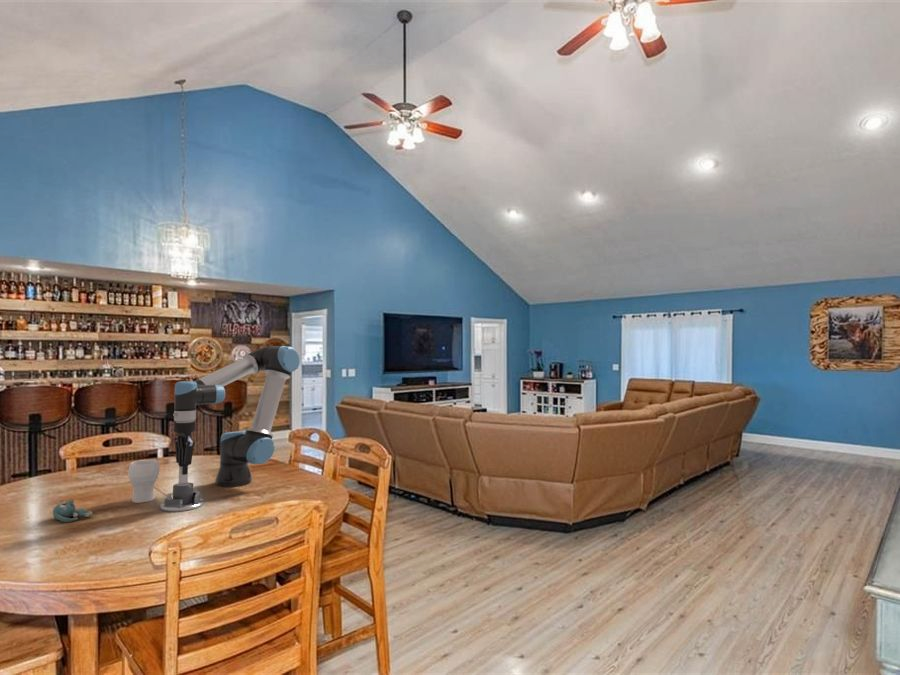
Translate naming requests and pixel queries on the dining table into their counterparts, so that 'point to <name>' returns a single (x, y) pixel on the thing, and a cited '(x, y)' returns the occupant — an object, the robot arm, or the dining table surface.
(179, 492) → the gray cube
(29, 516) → the dining table surface
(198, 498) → the grey stand base
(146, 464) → the cup
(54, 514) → the stuffed animal
